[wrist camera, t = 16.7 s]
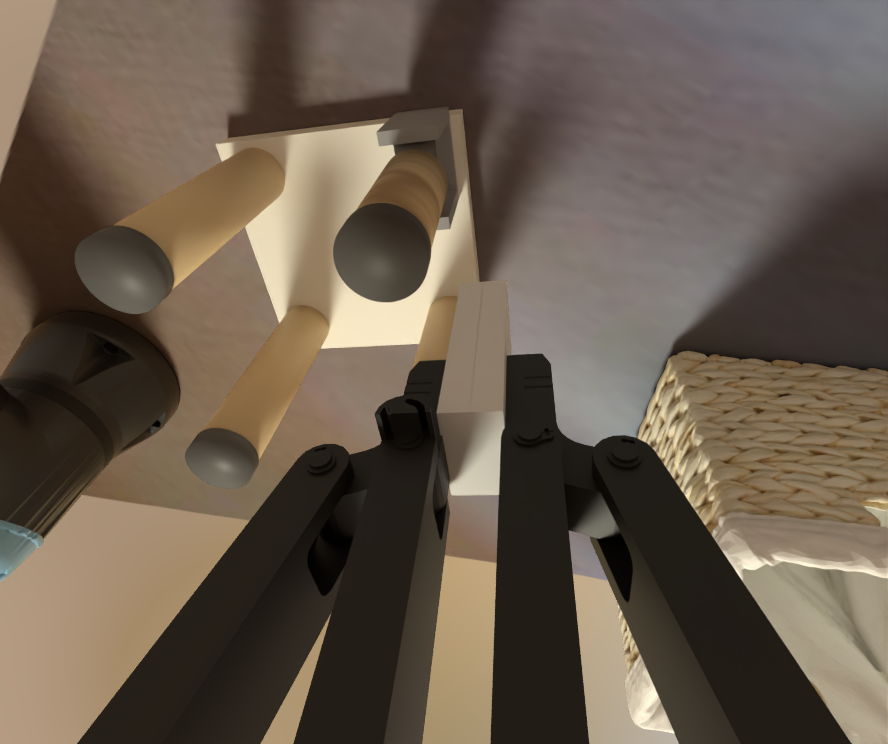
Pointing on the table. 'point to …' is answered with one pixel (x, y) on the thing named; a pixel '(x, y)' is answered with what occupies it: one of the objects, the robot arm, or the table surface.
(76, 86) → the table surface
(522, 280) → the table surface
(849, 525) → the basket
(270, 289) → the stool seat
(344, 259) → the hinged leg
